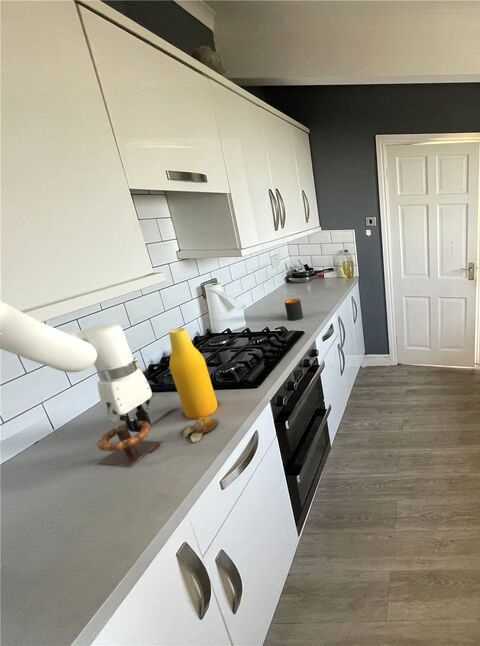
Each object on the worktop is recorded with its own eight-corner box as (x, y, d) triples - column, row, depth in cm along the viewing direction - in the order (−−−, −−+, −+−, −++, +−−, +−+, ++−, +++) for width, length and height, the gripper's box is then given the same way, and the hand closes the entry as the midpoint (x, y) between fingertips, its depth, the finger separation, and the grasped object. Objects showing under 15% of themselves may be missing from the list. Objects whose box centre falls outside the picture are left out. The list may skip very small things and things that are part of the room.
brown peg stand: (102, 466, 92) (88, 438, 89) (133, 443, 100) (122, 416, 97) (131, 469, 91) (119, 440, 88) (160, 445, 99) (150, 418, 96)
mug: (302, 313, 206) (300, 296, 203) (303, 319, 196) (300, 302, 192) (288, 315, 204) (285, 298, 200) (287, 321, 193) (284, 303, 189)
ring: (87, 450, 90) (84, 444, 89) (128, 423, 100) (125, 418, 99) (124, 454, 88) (121, 448, 87) (161, 426, 98) (159, 420, 97)
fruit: (180, 434, 104) (176, 424, 102) (209, 419, 110) (206, 410, 109) (193, 444, 99) (190, 434, 98) (222, 428, 106) (219, 418, 104)
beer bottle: (187, 408, 116) (161, 328, 106) (218, 400, 120) (196, 322, 110) (184, 423, 109) (155, 338, 98) (217, 414, 113) (193, 332, 102)
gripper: (133, 356, 99) (154, 410, 106) (72, 385, 84) (100, 446, 91) (156, 357, 98) (175, 411, 105) (99, 387, 83) (125, 448, 90)
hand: (140, 427), depth 98 cm, fingers closed on ring, 2 cm apart
